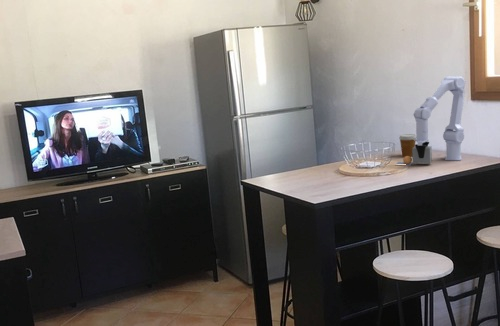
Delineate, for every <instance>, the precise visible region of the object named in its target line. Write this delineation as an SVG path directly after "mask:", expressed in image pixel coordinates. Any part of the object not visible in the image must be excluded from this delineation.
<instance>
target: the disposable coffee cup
mask: <svg viewBox="0 0 500 326" xmlns="http://www.w3.org/2000/svg"><path fill="white" fill-rule="evenodd" d="M398 138H399V141H400V149H401V155H402V156H401V157H403V158H404V157H406V156H410V157H411V158H413V152H412V148H413V147H415V145H416V143H417V141H414V139H416V134H413V133H409V134H408V133H407V134H406V133H404V134H400V135H399V137H398Z"/></svg>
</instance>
